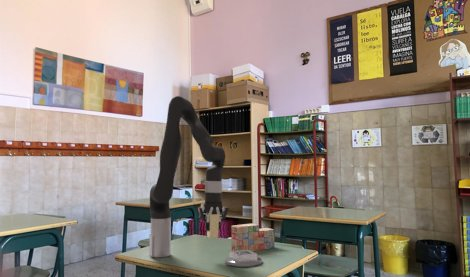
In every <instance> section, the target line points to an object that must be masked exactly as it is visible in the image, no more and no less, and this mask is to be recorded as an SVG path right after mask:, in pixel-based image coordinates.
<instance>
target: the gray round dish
mask: <svg viewBox="0 0 470 277" xmlns="http://www.w3.org/2000/svg"><path fill="white" fill-rule="evenodd" d="M223 262H224V264H225V265H226V266H229V267H233V268H252V267H253V268H254V267H258V266H260V265H262V263H263V259H262V258H261V257H258V253H256V252H255V251H250V250H240V251H232V250H231V251H229V255H228V256H227V257H226V258H225V259H224V260H223Z"/></svg>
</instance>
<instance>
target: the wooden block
mask: <svg viewBox="0 0 470 277" xmlns="http://www.w3.org/2000/svg"><path fill="white" fill-rule="evenodd" d="M219 231H220V229H219V214H211V215H210V218H209V231H206V237H207V238H209V239H216V238H219Z"/></svg>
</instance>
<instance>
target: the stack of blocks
mask: <svg viewBox="0 0 470 277" xmlns="http://www.w3.org/2000/svg"><path fill="white" fill-rule="evenodd" d="M230 237H231V251H240V250H250V251H252V252H255V250H256V251H262V250H270V249H275V229H273V228H269V227H265V228H264V227H263V228H260V225H259V224H256V223H244V224H237V225H236V224H235V225H231V236H230Z"/></svg>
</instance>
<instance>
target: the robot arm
mask: <svg viewBox="0 0 470 277" xmlns="http://www.w3.org/2000/svg"><path fill="white" fill-rule="evenodd" d="M181 119H182V120H183V121H185V122H186V123H187V124H186V125H188V126H189V129H190V133H191V136H192V137H193V138H192V139H194V141H195V142H196V144H197V145H198V147H199V149H200V154H201V155H202V156H201V157H202V158H203V159H204V161H206V162H208V163H211V166H210V167H207V169H206V170H205V184H204V186H205V187H204V204H203V206H201V207H198V208H197V210H198V214H199V217H200V221H202V222H204V228H205V230H206V232H207V231H209V218H210V215H211V214H219V230H221V223H222V222H224V221H225V220H226V218H227V217H226V216H227V214H228V211H229V207H228V206H224V205H223V181H222V180H223V179H222V178H223V176H222V174H223V173H222V172H223V169H224V165H225V161H226V152H225V151H226V150H224V148H223V147H221V146H213V142H214V139H213V137H212V136H211V134H210V133H209V131H208V129H207V128H205V126H204V125H203V123H202V122H201V120H200V118H199V116H198V114H197V112H196V110H195V107H194V106H193V104H192V102H191V101H189V100H188V99H186V98H184V97H183V96H180V95H175V96H173V97H171V99H170V100H169V104H168V108H167V117H166V124H165V129H164V135H163V140H162V143H161V148H160V153H159V173H158V178H157V181H156V183H155V184H153V185H152V186H151V188H150V192H149V212H150V234H149V252H148V253H149V256H150V257H151V258H165V257H166V258H167V257H170V256H171V249H172V248H171V244H172V243H171V241H172V240H171V238H172V234H171V233H172V231H171V229H172V226H171V225H172V216H171V215H172V213H171V208H170V201H171V199H172V197H173V194H174V184H175V176H176V172H177V168H178V164H179V159H180V155H181V151H182V146H183V141H182V140H183V139H182V136H181V130H180V128H181V127H180V126H181V125H180V123H181ZM221 211H222V212H221ZM205 212H206V214H205ZM220 213H221V214H220ZM204 214H205V215H204Z"/></svg>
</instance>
